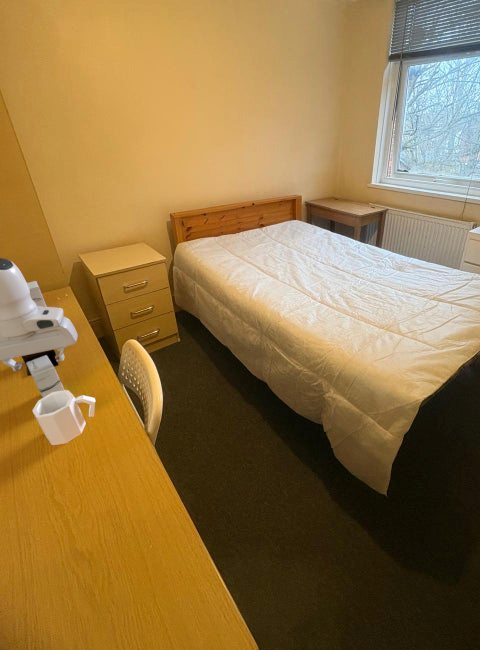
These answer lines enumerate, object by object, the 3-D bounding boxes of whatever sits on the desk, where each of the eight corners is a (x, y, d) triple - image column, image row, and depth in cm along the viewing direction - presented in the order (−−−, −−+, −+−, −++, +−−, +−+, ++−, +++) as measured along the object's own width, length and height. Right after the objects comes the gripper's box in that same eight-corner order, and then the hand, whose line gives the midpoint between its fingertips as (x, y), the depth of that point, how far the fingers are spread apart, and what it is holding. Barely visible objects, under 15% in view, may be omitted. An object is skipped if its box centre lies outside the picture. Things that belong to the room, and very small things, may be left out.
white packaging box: (27, 320, 125) (14, 292, 119) (25, 313, 130) (12, 285, 124) (50, 313, 130) (38, 286, 124) (47, 306, 134) (35, 280, 129)
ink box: (69, 399, 90) (55, 367, 85) (49, 410, 87) (32, 377, 81) (60, 384, 95) (46, 353, 90) (40, 393, 92) (24, 362, 87)
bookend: (26, 366, 102) (15, 343, 98) (57, 356, 107) (47, 334, 102) (27, 376, 98) (15, 353, 94) (58, 365, 103) (48, 342, 99)
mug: (46, 451, 76) (31, 423, 72) (47, 426, 83) (33, 398, 78) (103, 427, 82) (92, 400, 78) (100, 405, 89) (89, 379, 84)
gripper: (-41, 338, 73) (-14, 383, 79) (64, 318, 80) (81, 361, 87) (-29, 324, 78) (-5, 367, 84) (69, 306, 85) (85, 348, 92)
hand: (40, 364), depth 85 cm, fingers open, 8 cm apart
